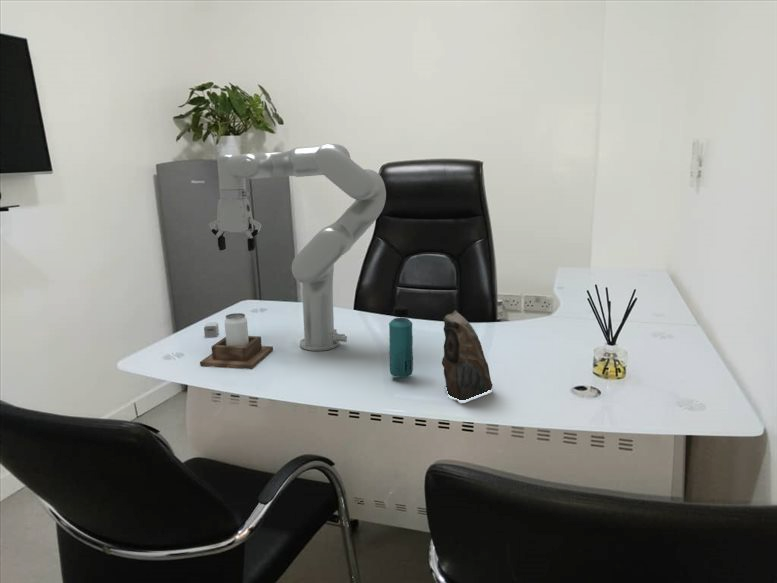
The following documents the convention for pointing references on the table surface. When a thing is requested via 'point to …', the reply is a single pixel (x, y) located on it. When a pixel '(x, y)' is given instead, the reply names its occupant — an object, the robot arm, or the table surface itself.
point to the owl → (463, 359)
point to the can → (236, 330)
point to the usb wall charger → (211, 329)
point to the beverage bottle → (401, 343)
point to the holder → (237, 354)
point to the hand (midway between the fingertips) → (236, 250)
